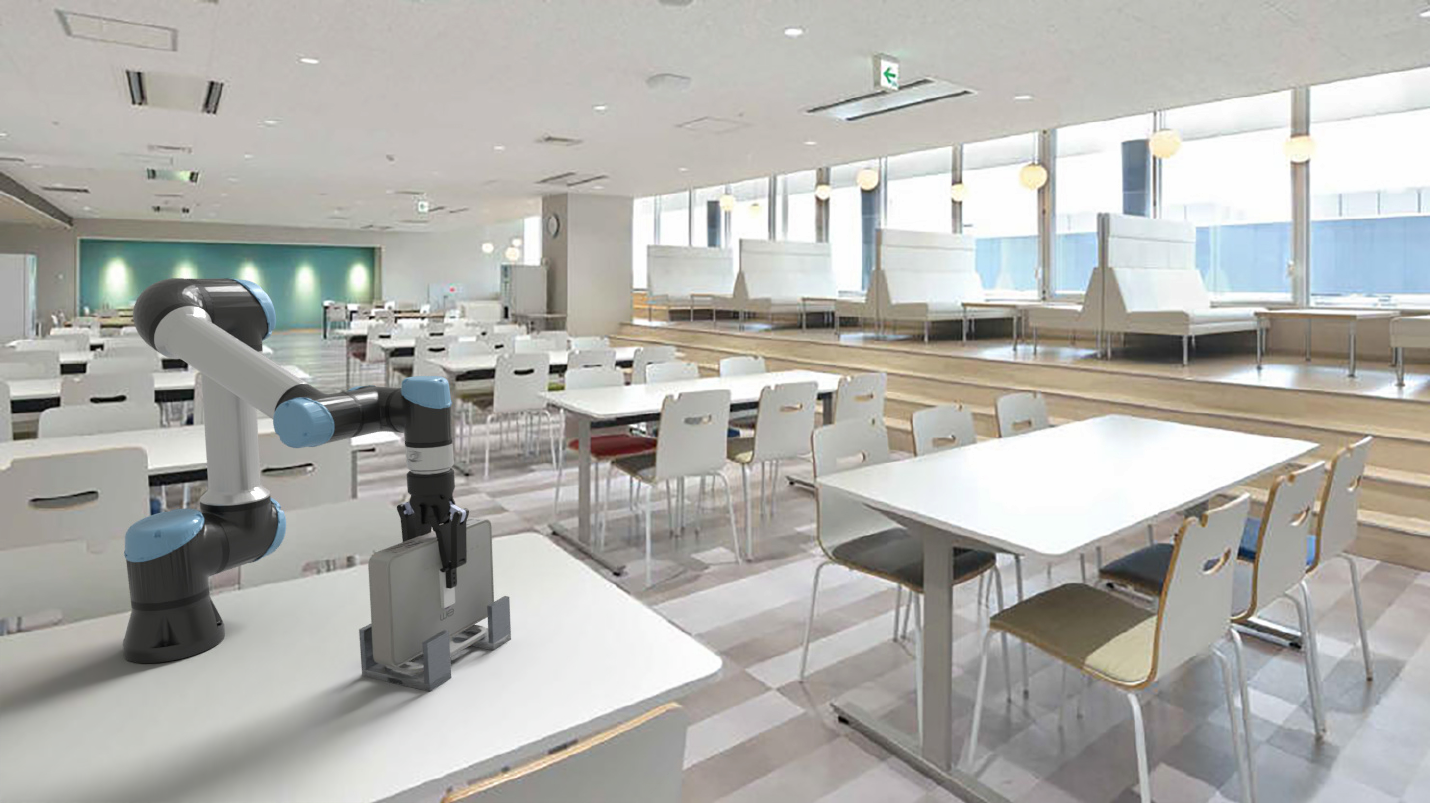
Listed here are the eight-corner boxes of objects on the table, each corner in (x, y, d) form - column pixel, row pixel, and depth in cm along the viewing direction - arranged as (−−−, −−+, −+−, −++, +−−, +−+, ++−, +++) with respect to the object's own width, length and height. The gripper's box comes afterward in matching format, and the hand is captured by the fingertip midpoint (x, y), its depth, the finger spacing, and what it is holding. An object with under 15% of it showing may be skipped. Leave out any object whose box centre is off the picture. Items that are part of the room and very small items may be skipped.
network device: (403, 684, 128) (397, 559, 125) (361, 674, 131) (354, 553, 129) (504, 624, 151) (501, 518, 149) (466, 617, 155) (462, 513, 152)
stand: (362, 675, 135) (359, 629, 133) (448, 626, 154) (446, 586, 153) (429, 691, 129) (427, 643, 128) (511, 638, 149) (509, 596, 147)
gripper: (374, 469, 137) (382, 604, 140) (456, 478, 130) (463, 618, 134) (407, 460, 144) (414, 589, 147) (486, 468, 137) (492, 602, 140)
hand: (437, 603), depth 140 cm, fingers closed on network device, 4 cm apart
